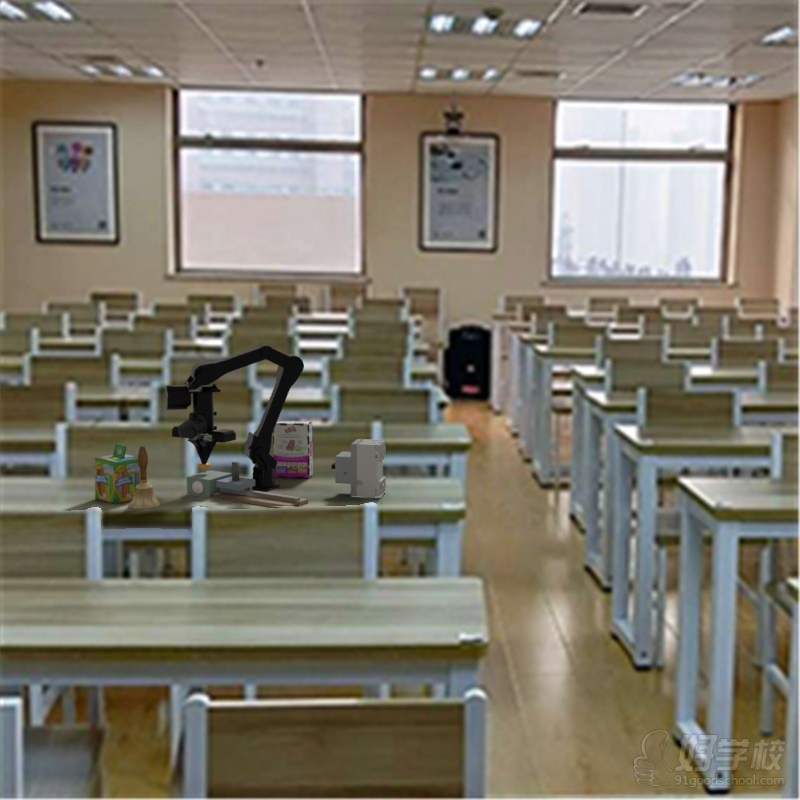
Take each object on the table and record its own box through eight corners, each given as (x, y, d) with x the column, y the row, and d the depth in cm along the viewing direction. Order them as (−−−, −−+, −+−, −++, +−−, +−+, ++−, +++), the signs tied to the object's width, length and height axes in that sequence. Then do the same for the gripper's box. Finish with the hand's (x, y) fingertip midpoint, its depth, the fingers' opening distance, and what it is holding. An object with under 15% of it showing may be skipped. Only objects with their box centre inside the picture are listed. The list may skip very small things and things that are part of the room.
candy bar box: (313, 475, 350) (313, 421, 347) (309, 478, 345) (309, 423, 343) (276, 473, 351) (276, 419, 349) (272, 477, 346) (272, 422, 344)
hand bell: (152, 510, 306) (151, 450, 303) (123, 508, 307) (121, 448, 305) (165, 502, 314) (164, 444, 311) (136, 501, 315) (135, 443, 313)
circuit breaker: (336, 490, 330) (336, 437, 328) (385, 492, 327) (385, 440, 325) (329, 496, 323) (329, 442, 321) (379, 498, 320) (379, 445, 318)
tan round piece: (203, 470, 329) (203, 461, 328) (213, 471, 327) (213, 463, 326) (194, 472, 325) (194, 464, 325) (204, 474, 324) (204, 465, 323)
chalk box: (94, 499, 317) (92, 445, 315) (122, 493, 324) (120, 441, 322) (115, 504, 311) (113, 450, 309) (143, 498, 318) (142, 445, 316)
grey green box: (210, 487, 332) (210, 470, 331) (232, 490, 328) (232, 473, 328) (186, 494, 323) (185, 476, 323) (208, 498, 319) (208, 480, 319)
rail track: (231, 491, 328) (231, 483, 327) (308, 502, 315) (308, 494, 315) (210, 497, 320) (210, 489, 320) (288, 509, 307) (288, 501, 307)
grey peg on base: (232, 487, 326) (231, 458, 325) (255, 491, 322) (255, 461, 321) (216, 492, 320) (215, 462, 319) (239, 496, 316) (239, 466, 315)
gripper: (157, 409, 321) (159, 465, 324) (210, 415, 312) (211, 472, 314) (184, 404, 331) (185, 458, 333) (236, 409, 321) (237, 465, 324)
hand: (204, 463), depth 326 cm, fingers closed, pressing on tan round piece
